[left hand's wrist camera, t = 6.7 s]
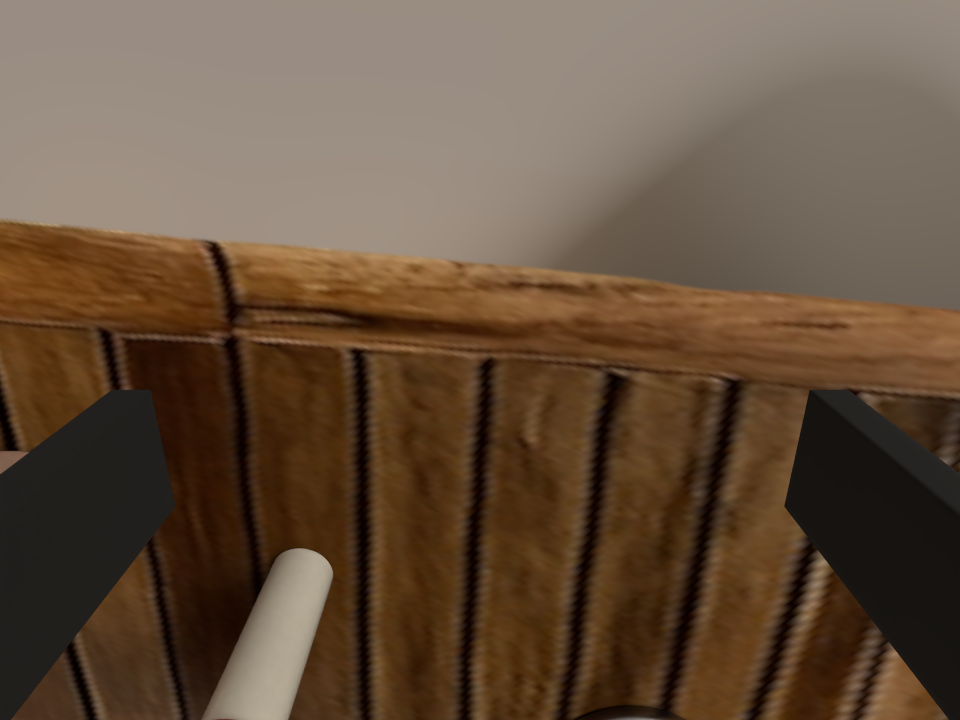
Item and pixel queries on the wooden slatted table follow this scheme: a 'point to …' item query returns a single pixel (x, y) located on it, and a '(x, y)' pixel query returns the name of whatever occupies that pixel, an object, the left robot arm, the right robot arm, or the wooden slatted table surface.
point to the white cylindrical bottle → (274, 641)
